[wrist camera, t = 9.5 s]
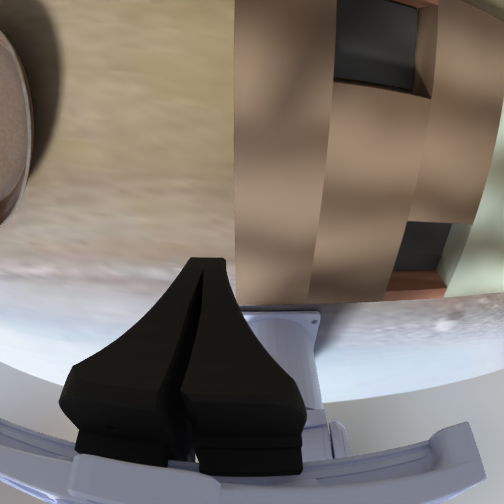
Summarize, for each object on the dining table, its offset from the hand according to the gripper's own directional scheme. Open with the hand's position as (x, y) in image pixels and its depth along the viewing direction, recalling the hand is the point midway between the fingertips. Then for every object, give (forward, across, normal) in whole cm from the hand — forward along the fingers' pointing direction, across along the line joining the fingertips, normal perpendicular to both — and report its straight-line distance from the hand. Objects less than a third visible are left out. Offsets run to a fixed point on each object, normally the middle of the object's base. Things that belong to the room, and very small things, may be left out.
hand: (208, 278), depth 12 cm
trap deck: (+9, -15, -3) cm, 18 cm away
